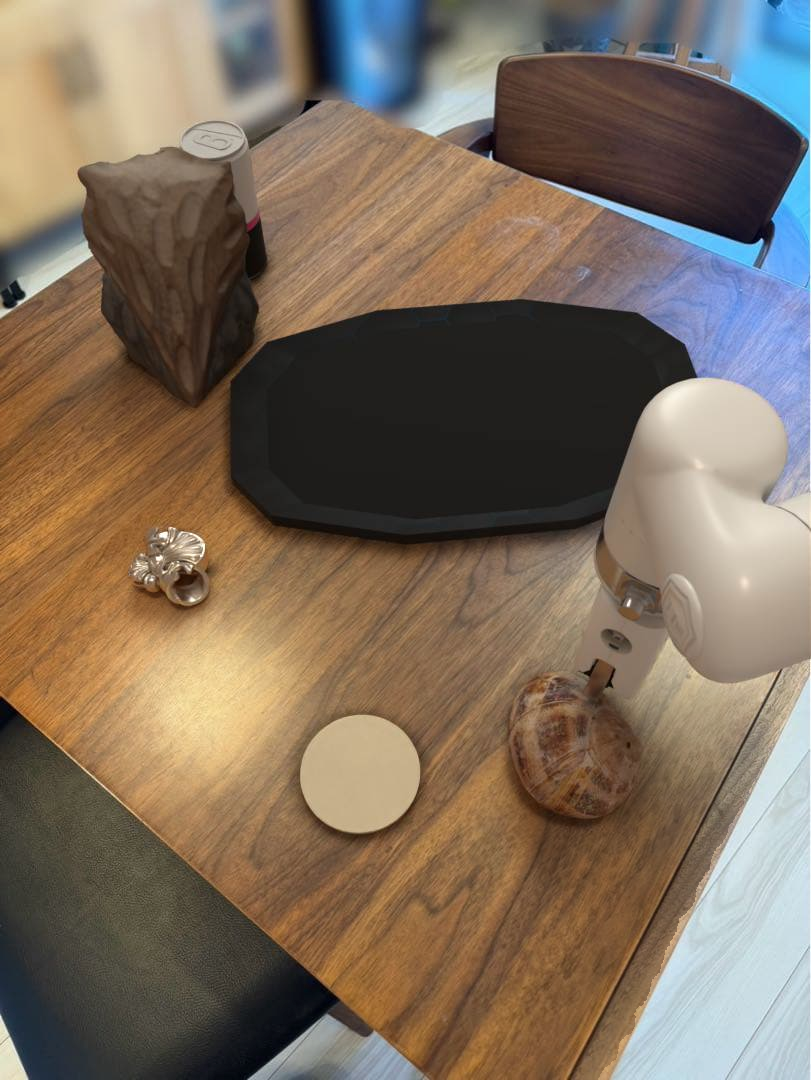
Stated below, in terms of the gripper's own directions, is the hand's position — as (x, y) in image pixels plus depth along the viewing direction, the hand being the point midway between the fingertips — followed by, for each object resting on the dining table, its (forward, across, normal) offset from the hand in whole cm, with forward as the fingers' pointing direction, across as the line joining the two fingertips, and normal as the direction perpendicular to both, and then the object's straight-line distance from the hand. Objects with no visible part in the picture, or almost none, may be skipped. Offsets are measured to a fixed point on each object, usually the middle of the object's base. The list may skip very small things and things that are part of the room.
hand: (603, 673), depth 70 cm
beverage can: (+2, +26, +54) cm, 60 cm away
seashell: (+2, -7, 0) cm, 7 cm away
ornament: (+2, -9, +36) cm, 37 cm away
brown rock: (+2, +12, +50) cm, 51 cm away
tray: (+2, +19, +22) cm, 29 cm away
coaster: (+2, -16, +13) cm, 20 cm away
